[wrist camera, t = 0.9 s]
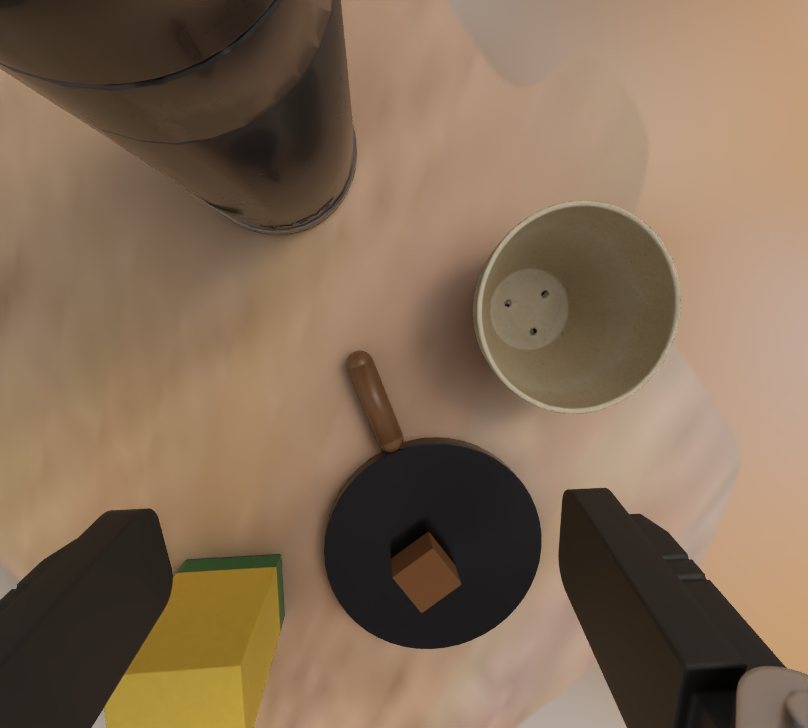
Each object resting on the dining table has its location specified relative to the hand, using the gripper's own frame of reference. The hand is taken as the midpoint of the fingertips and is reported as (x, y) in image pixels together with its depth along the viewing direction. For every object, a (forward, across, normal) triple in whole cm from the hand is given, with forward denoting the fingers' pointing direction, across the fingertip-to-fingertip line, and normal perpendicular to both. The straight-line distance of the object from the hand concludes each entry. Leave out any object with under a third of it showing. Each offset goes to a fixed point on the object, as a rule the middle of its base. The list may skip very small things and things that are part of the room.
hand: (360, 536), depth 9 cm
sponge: (+16, +11, +16) cm, 25 cm away
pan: (+17, -1, +11) cm, 21 cm away
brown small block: (+16, -2, +15) cm, 21 cm away
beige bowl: (+20, -9, 0) cm, 22 cm away
